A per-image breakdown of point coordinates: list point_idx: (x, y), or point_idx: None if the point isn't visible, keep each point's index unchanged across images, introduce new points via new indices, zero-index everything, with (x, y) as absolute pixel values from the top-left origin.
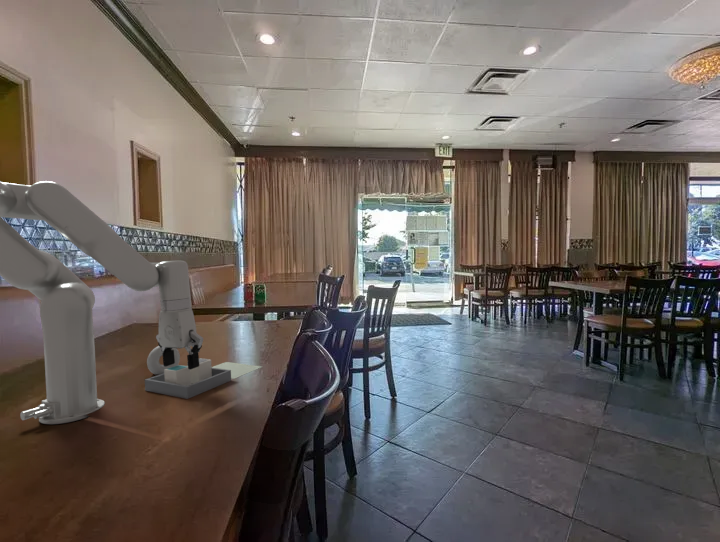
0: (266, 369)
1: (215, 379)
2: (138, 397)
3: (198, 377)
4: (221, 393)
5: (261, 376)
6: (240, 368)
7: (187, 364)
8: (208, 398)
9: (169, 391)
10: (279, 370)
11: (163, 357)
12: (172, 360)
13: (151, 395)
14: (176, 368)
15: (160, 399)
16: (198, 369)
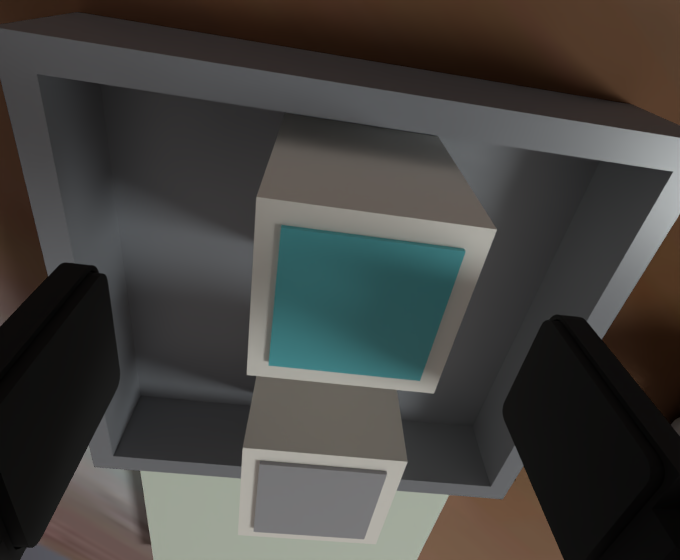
0: (144, 550)
1: None
2: (651, 12)
3: None
4: (23, 249)
5: (74, 488)
6: None
7: (402, 442)
8: (10, 144)
9: (317, 64)
10: (67, 550)
11: (636, 401)
12: (525, 423)
13: (550, 88)
14: (342, 285)
15: (397, 20)
16: (254, 400)
